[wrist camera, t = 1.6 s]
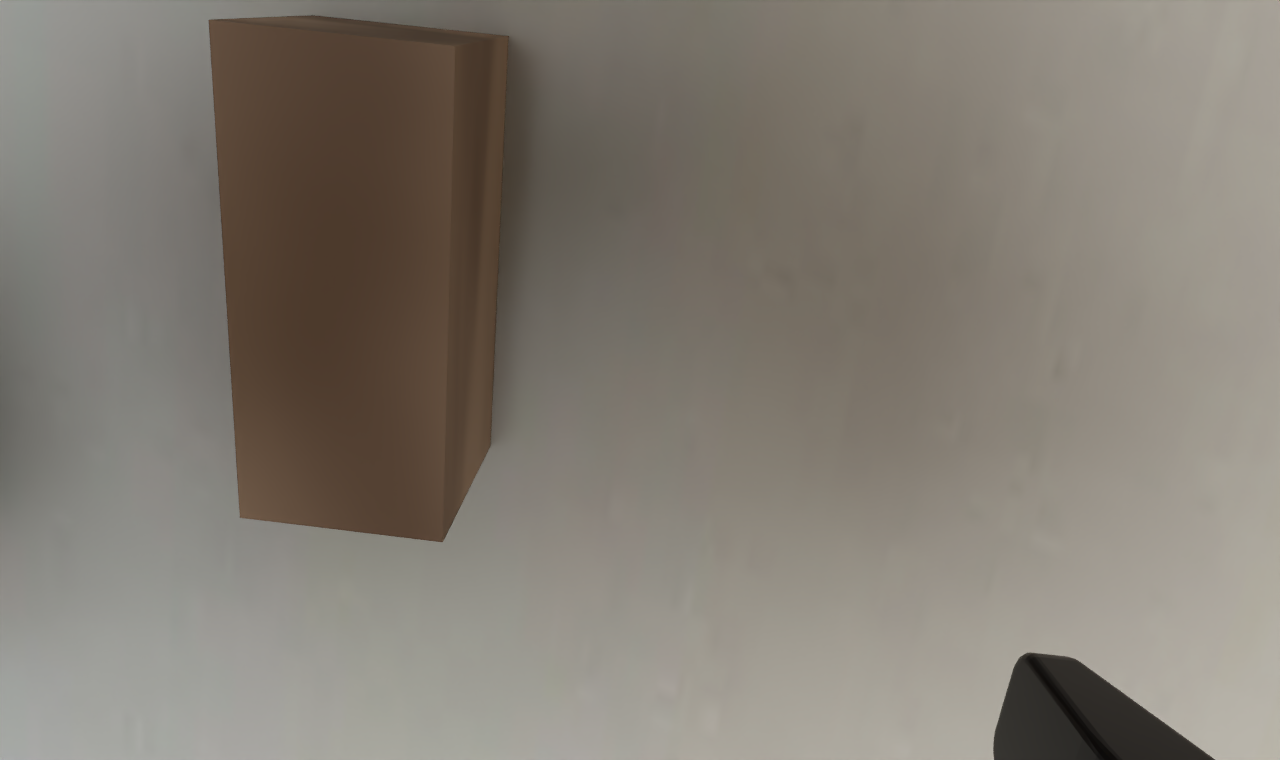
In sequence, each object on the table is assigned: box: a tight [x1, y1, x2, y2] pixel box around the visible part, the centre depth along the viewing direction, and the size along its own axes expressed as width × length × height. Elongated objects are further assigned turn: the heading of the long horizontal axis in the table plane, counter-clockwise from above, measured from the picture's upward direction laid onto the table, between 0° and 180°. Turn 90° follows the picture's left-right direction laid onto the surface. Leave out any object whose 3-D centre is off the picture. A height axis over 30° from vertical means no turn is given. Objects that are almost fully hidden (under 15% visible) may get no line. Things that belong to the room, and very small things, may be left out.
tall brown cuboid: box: [209, 15, 509, 542], centre depth 17 cm, size 4×8×4 cm, turn 175°
